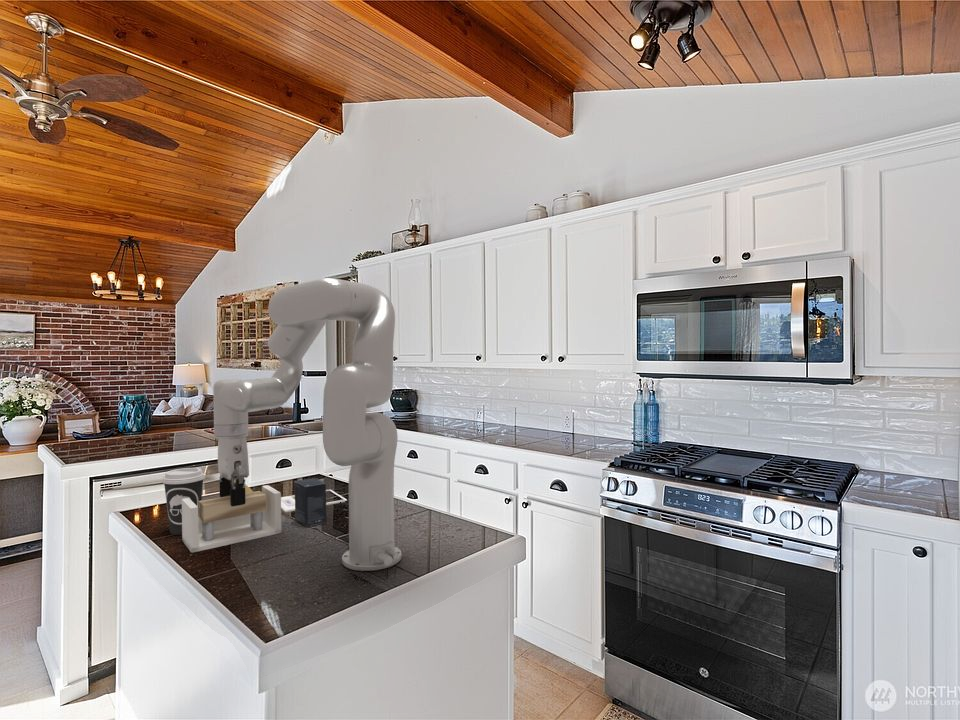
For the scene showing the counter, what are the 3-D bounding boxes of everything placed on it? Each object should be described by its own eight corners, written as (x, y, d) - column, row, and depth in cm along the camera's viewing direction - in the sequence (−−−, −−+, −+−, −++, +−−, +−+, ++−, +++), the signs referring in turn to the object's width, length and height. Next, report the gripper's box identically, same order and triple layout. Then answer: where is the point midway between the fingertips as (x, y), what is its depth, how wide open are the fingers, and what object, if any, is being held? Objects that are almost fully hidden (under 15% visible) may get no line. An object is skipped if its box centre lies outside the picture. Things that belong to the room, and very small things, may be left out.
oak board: (266, 510, 131) (265, 494, 131) (203, 522, 122) (203, 505, 122) (259, 506, 135) (259, 490, 135) (198, 517, 126) (198, 501, 126)
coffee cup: (214, 527, 135) (213, 469, 135) (176, 539, 127) (175, 477, 127) (192, 521, 140) (191, 465, 140) (154, 532, 132) (153, 472, 132)
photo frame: (272, 498, 160) (330, 488, 171) (272, 501, 160) (330, 492, 171) (285, 509, 148) (347, 499, 159) (285, 513, 148) (347, 502, 159)
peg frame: (281, 532, 131) (280, 492, 131) (191, 552, 119) (190, 508, 118) (268, 522, 139) (267, 485, 139) (182, 540, 126) (181, 499, 126)
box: (326, 522, 139) (326, 482, 139) (305, 527, 135) (305, 486, 135) (315, 515, 145) (314, 477, 145) (294, 520, 141) (294, 480, 141)
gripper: (258, 433, 124) (259, 505, 124) (237, 425, 137) (238, 491, 138) (224, 436, 119) (225, 512, 120) (205, 428, 133) (206, 496, 133)
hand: (232, 500), depth 129 cm, fingers open, 9 cm apart
